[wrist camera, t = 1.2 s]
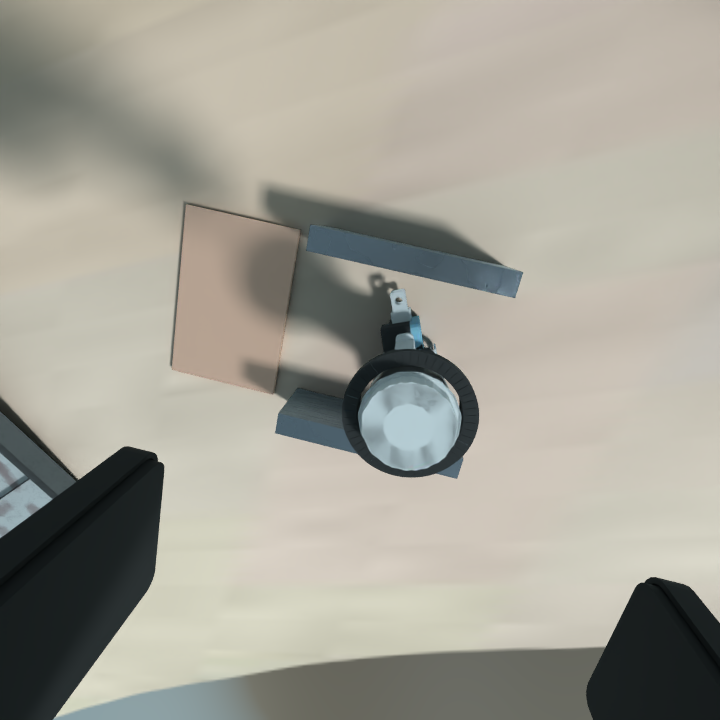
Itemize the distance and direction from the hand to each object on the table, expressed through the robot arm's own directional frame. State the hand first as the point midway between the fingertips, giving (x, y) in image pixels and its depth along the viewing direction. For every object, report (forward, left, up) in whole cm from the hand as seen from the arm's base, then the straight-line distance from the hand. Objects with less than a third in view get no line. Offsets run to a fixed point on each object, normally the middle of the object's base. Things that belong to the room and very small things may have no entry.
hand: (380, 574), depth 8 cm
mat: (+10, 0, -18) cm, 21 cm away
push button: (0, 0, -18) cm, 18 cm away
